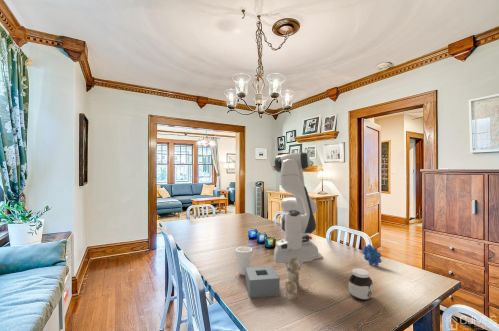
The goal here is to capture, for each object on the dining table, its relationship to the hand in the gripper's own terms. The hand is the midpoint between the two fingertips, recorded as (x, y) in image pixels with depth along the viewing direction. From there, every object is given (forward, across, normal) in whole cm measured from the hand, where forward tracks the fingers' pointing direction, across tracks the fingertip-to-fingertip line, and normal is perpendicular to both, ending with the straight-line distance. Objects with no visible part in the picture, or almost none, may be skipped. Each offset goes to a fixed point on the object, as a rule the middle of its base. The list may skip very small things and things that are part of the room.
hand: (293, 270), depth 120 cm
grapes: (+7, -55, -16) cm, 58 cm away
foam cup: (+7, +23, -18) cm, 30 cm away
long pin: (+7, 0, 0) cm, 7 cm away
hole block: (+7, +17, +2) cm, 19 cm away
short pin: (+7, +5, +11) cm, 14 cm away
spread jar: (+7, -27, +14) cm, 31 cm away
